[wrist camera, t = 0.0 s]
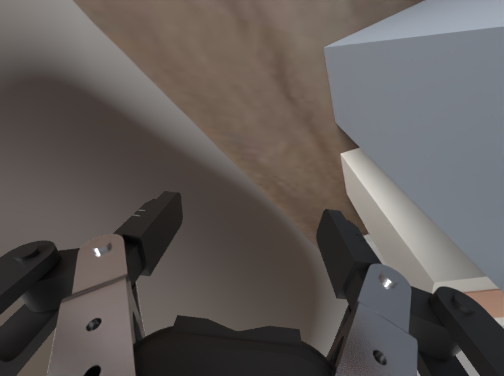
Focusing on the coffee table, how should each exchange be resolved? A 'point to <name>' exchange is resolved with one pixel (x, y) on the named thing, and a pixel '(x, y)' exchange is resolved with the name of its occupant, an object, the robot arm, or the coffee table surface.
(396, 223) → the tall white block
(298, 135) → the coffee table surface
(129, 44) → the coffee table surface
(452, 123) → the tower
